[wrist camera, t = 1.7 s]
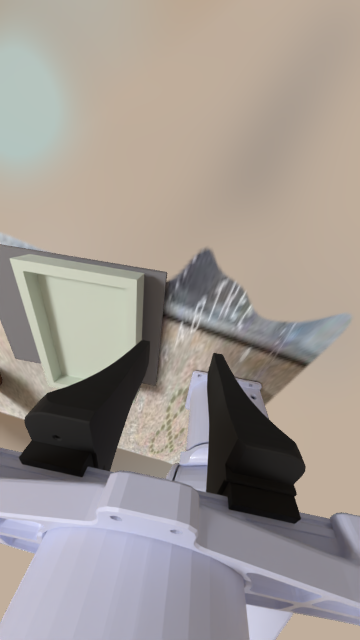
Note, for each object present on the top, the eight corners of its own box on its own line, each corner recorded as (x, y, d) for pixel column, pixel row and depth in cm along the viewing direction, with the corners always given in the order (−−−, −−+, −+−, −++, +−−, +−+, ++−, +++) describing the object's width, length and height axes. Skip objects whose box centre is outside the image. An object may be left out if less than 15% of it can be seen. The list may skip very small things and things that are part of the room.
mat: (167, 272, 20) (166, 273, 20) (156, 383, 28) (155, 385, 28) (-26, 239, 21) (-31, 240, 21) (18, 356, 29) (15, 358, 29)
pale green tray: (147, 270, 20) (136, 279, 17) (142, 383, 28) (134, 403, 25) (38, 252, 20) (9, 258, 17) (65, 368, 29) (48, 386, 26)
